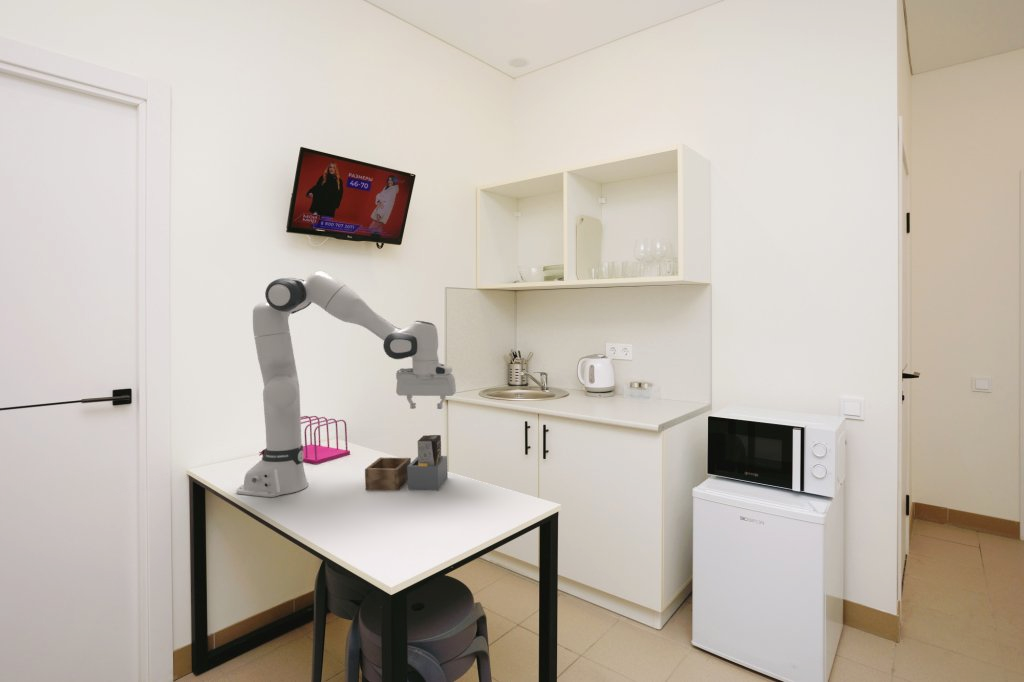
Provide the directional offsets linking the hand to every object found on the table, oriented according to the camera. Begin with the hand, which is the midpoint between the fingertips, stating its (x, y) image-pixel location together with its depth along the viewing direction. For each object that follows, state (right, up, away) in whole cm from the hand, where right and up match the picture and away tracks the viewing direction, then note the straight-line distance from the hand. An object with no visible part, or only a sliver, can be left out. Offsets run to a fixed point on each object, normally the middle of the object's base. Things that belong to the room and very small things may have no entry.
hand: (426, 408), depth 182 cm
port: (0, -26, +1) cm, 26 cm away
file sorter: (-54, -25, +41) cm, 73 cm away
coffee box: (+1, -26, +1) cm, 26 cm away
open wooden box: (-13, -26, +3) cm, 30 cm away
